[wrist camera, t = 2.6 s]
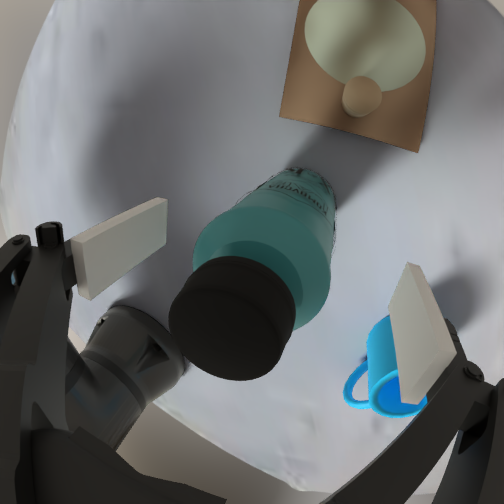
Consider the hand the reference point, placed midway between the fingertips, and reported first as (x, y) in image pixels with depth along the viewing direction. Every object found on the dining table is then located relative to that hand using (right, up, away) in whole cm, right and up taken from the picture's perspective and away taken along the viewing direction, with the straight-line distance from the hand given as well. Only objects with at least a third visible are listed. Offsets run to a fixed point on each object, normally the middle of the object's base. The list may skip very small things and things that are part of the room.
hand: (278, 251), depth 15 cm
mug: (+14, -11, +15) cm, 24 cm away
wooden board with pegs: (+8, +18, +4) cm, 20 cm away
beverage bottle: (+3, +5, +12) cm, 13 cm away
